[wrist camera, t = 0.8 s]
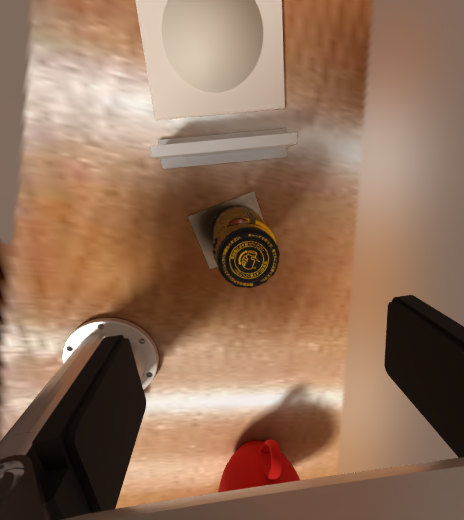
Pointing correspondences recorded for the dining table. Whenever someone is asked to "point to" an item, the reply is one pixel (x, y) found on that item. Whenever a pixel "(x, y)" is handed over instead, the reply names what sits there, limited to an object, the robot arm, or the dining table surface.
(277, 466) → the ceramic cup
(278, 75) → the pad
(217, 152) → the low wall
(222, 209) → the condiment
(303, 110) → the dining table surface
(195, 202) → the dining table surface
